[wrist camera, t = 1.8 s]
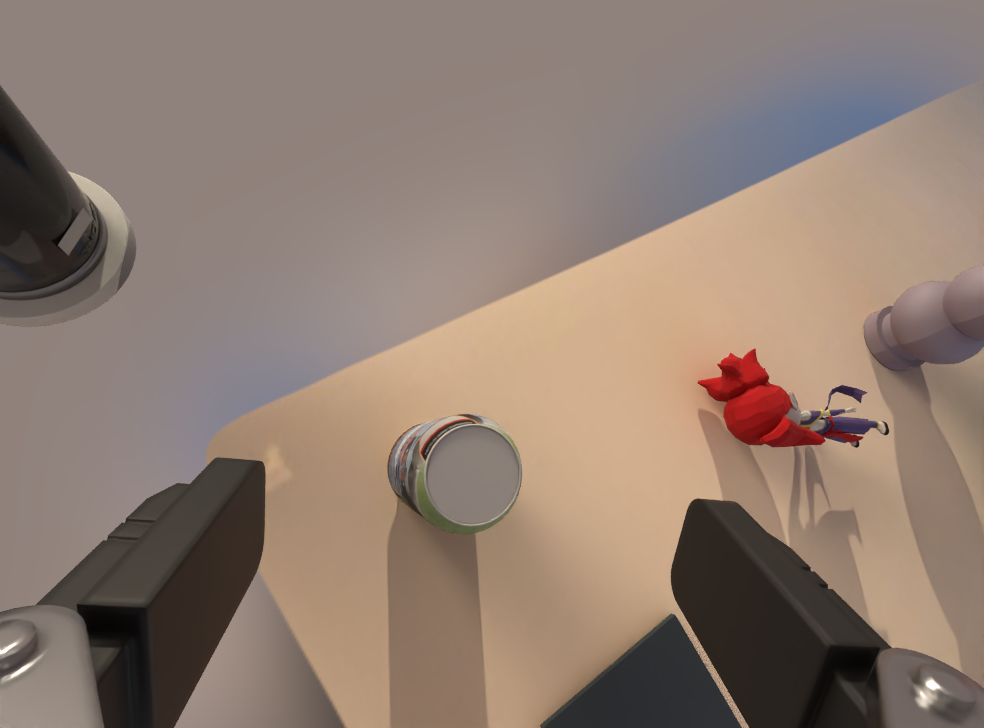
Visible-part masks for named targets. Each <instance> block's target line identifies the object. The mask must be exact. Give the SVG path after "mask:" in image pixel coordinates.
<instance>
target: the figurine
mask: <svg viewBox="0 0 984 728" xmlns="http://www.w3.org/2000/svg"><path fill="white" fill-rule="evenodd" d="M717 365H718V366H719V367H720V369H721V370H722V376H721V377H718V378H712V379H707V380H701V381H698V384H700V385H701V386H703V387H705V388H706V389H707V391H708V393H709V395H710V396H711V397H713V398H714V399H715V400H717V401H723V402H727V403H726V405H725V407H724V419H725V422H726V425H727V428H728V430H729V431H730V432H731V433H732V434H733V435H734V436H735V437H736V438H737V439H739V440H740V441H742V442H744V443H746V444H748V445H763V444H767V445H770V446H772V447H791V446H801V445H821V444H822V443H824V442H825V439H824V437H825V438H828V439H832V440H835V441H839V442H842V443H846V442H850V443H851V445H852V446H854V447H856V448H857V447H859V440H861V439H862V438H863V437H861V436H856V435H852V434H865V433H866V432H868V431H869V429H870V428H876V429H877V430H878V431H879V432H880V433H881V434H884V435H888V433H889V429H888V425H887V423H886V422H883V421H880V422H876V421H869V420H868V419H859V418H849V417H831V416H836V415H839V414H842V413H850V412H855V410H856V408H848V409H840V410H827V409H828V406H827V407H826V409H825V410H821V409H819V410H815V411H803V412H800V410H799V408H798V403H797V401H796V398H795V396H794V394H793V393H792V392H791V391H790V392H789V395H788V394H787V393H786V391H785V390H783V389H782V388H781V387H779V386H776V385H773V384H770V383H769V382H768V380H769V375H768V374H767V372H766V371H765V368H764V369H763V368H762V367H761V366H760V364H759V363H758V361H757V357H756V349H753V350H751V351H750V352H749V353H747V354H746V355H745V356H744V358H743V359H741V358H738V357H736V356H735V355H733V354H732V353H730V354H729V356H728V357H727V358H724V359H723V360H722V361H721V364H717ZM835 392H840V393H843V394H846V395H849V396H852V397H853V398H855V399H856V400H857V401H859V402H860V403H861V398H862V395H864V394H866V393H867V392H865V391H862V390H859V389H857V388H852V387H848V386H843V385H841V386H839V387H837V388H834V389H832V391H831V392H830V394H829V400H828V405H829V403H830V399H831V395H832V394H834V393H835ZM826 410H827V411H826ZM823 416H829V417H826V418H823ZM846 433H850V434H846Z"/></svg>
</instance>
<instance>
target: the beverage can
mask: <svg viewBox="0 0 984 728" xmlns="http://www.w3.org/2000/svg"><path fill="white" fill-rule="evenodd" d="M388 477H389V482H390V484H391V487H392V489H393V491H394V492H395V494H396V495H397V497H398V498H399V499H400V500H401V501H402V502H403V503H405V504H406V505H407V506H409V507H410V508H411V509H413V510H414V511H415V512H417V513H418V514H419V515H421V516H422V517H423V518H425V519H426V520H427V521H429V522H430V523H431V524H433V525H434V526H436V527H438V528H440V529H442V530H444V531H448V532H451V533H457V534H470V533H476V532H480V531H483V530H485V529H487V528H489V527H491V526H493V525H495V524H496V523H497V522H499V521H500V520H501V519H502V518H503V517H504V516H505V515H506V514H507V513H508V512H509V510H510V509H511V508H512V506H513V505H514V503H515V501H516V498H517V496H518V494H519V490H520V487H521V480H522V464H521V460H520V455H519V453H518V450H517V447H516V445H515V444H514V442H513V440H512V439H511V437H510V436H509V435H508V434H507V432H506V431H505V430H504V429H503V428H501V427H500V426H499V425H498V424H496V423H495V422H493V421H491V420H489V419H487V418H484V417H481V416H477V415H471V414H461V415H455V416H450V417H446V418H442V419H438V420H434V421H430V422H426V423H421V424H418V425H416V426H413V427H412V428H410V429H408V430H407V431H406V432H404V433H403V434H402V435H401V436H400V437H399V439H398V440H397V441H396V442H395V444H394V446H393V448H392V450H391V453H390V455H389V460H388Z"/></svg>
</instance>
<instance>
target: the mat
mask: <svg viewBox="0 0 984 728" xmlns="http://www.w3.org/2000/svg"><path fill="white" fill-rule="evenodd" d="M540 726H541V728H742V727H741V726H740V724H739V722H738V721H737V719H736V717H735V716H734V714H733V712H732V710H731V709H730V707H729V705H728V704H727V702H726V700H725V699H724V697H723V695H722V693H721V692H720V690H719V688H718V687H717V685H716V683H715V682H714V680H713V678H712V677H711V675H710V673H709V671H708V670H707V668H706V666H705V665H704V663H703V661H702V660H701V658H700V656H699V654H698V653H697V651H696V649H695V648H694V646H693V644H692V643H691V641H690V639H689V638H688V636H687V634H686V632H685V631H684V629H683V627H682V626H681V624H680V622H679V621H678V619H677V617H676V615H674V614H671V615H669V616H668V617H667V618H666V619H665V620H663V621H662V622H661V623H660V624H659V625H658V626H656V627H655V628H654V629H653V630H652V631H651V632H649V633H648V634H647V635H646V636H645V637H643V638H642V639H641V640H640V641H639V642H638V643H636V644H635V645H634V646H633V647H632V648H631V649H629V650H628V651H627V652H626V653H625V654H624V655H622V656H621V657H620V658H619V659H618V660H616V661H615V662H614V663H613V664H612V665H611V666H609V667H608V668H607V669H606V670H605V671H604V672H602V673H601V674H600V675H599V676H598V677H596V678H595V679H594V680H593V681H592V682H591V683H589V684H588V685H587V686H586V687H585V688H584V689H582V690H581V691H580V692H579V693H578V694H577V695H575V696H574V697H573V698H572V699H571V700H569V701H568V702H567V703H566V704H565V705H564V706H562V707H561V708H560V709H559V710H558V711H557V712H555V713H554V714H553V715H552V716H551V717H550V718H548V719H547V720H546V721H545V722H544V723H542V724H541V725H540Z"/></svg>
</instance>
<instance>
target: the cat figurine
mask: <svg viewBox="0 0 984 728" xmlns="http://www.w3.org/2000/svg"><path fill="white" fill-rule="evenodd" d="M864 337H865V340H866V343H867V346H868V348H869V349H870V351H871V353H872V354H873V356H874V357H875V358H876V359H877V360H878V361H879V362H880V363H881V364H883V365H884V366H886V367H887V368H889V369H892V370H895V371H904V370H908V369H911V368H915V367H918V366H920V365H922V364H923V363H924V362H929V363H932V364H955V363H959V362H962V361H964V360H966V359H968V358H970V357H972V356H974V355H976V354H977V353H978V352H979V351H980V350H981V349H982V348H983V346H984V264H983V265H979V266H976V267H973V268H971V269H968V270H966V271H964V272H962V273H960V274H959V275H958V276H956V277H955V278H954V280H953V281H952V282H946V281H929V282H924V283H921V284H918V285H916V286H913V287H911V288H909V289H907V290H906V291H905V292H904V293H902V295H901V296H900V297H899V298H898V299H897V300H896V302H895V303H894V305H893V306H889V307H886V308H884V309H881V310H879V311H877V312H874V313H872V314H870V315H869V316H868V318H867V319H866V321H865V325H864Z"/></svg>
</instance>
